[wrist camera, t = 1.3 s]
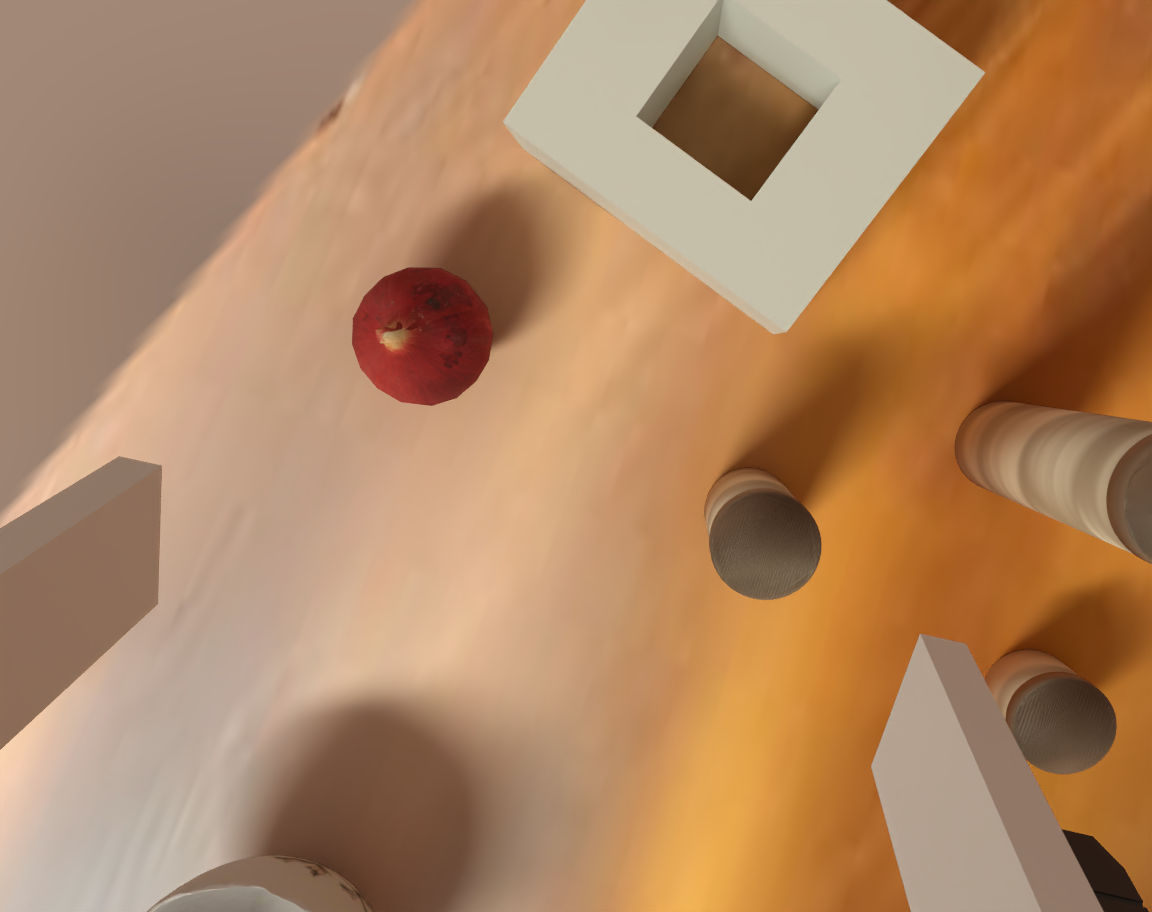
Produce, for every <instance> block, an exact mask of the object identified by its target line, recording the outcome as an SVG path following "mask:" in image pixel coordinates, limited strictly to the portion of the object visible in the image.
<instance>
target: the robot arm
mask: <svg viewBox="0 0 1152 912" xmlns="http://www.w3.org/2000/svg"><path fill="white" fill-rule="evenodd" d="M161 481H162V466H161V465H156V464H152V463H147V462H143V461H138V460H133V459H129V458H124V457H120V456H119V457H117V458H116V459H114V460H112V461H111V462H109V463H107V464H106V465H104V466H103V467H101V468H99V469H98V470H96V471H94V472H93V473H91V474H89V475H88V476H86V477H84V478H83V479H81V480H79V481H78V482H76V483H74V484H73V485H71V486H69V487H68V488H66V489H65V490H63V491H61V492H60V493H58V494H56V495H55V496H53V497H51V498H50V499H48V500H46V501H45V502H43V503H41V504H40V505H38V506H36V507H35V508H33V509H31V510H30V511H28V512H26V513H25V514H23V515H22V516H20V517H18V518H17V519H15V520H13V521H12V522H10V523H8V524H7V525H5V526H3V527H2V528H0V750H1V749H2V748H3V747H4V746H5V745H6V744H7V743H8V742H9V741H10V740H11V739H12V738H14V737H15V736H16V735H17V734H18V733H19V732H20V731H21V730H22V729H23V728H24V727H25V726H26V725H28V724H29V723H30V722H31V721H32V720H33V719H34V718H35V717H36V716H37V715H38V714H39V713H41V712H42V711H43V710H44V709H45V708H46V707H47V706H48V705H49V704H50V703H51V702H52V701H53V700H55V699H56V698H57V697H58V696H59V695H60V694H61V693H62V692H63V691H64V690H65V689H66V688H68V687H69V686H70V685H71V684H72V683H73V682H74V681H75V680H76V679H77V678H78V677H79V676H81V675H82V674H83V673H84V672H85V671H86V670H87V669H88V668H89V667H90V666H91V665H92V664H93V663H95V662H96V661H97V660H98V659H99V658H100V657H101V656H102V655H103V654H104V653H105V652H106V651H108V650H109V649H110V648H111V647H112V646H113V645H114V644H115V643H116V642H117V641H118V640H119V639H120V638H122V637H123V636H124V635H125V634H126V633H127V632H128V631H129V630H130V629H131V628H132V627H133V626H135V625H136V624H137V623H138V622H139V621H140V620H141V619H142V618H143V617H144V616H145V615H146V614H148V613H149V612H150V611H151V610H152V609H153V608H154V607H155V606H156V605H157V604H158V582H159V548H160V514H161ZM871 768H872V771H873V775H874V779H875V782H876V786H877V790H878V793H879V797H880V801H881V804H882V808H883V812H884V815H885V819H886V823H887V826H888V830H889V834H890V837H891V841H892V845H893V848H894V852H895V856H896V859H897V863H898V866H899V870H900V874H901V877H902V881H903V885H904V888H905V892H906V896H907V899H908V903H909V907H910V910H911V912H1149V911H1148V909H1147V908H1144V907H1143V905H1142V903H1143V901H1142V899H1141V897H1140V895H1139V894H1138V892H1137V890H1136V888H1135V887H1134V885H1133V883H1132V881H1131V880H1130V878H1129V876H1128V874H1127V873H1126V871H1125V869H1124V868H1123V867H1122V866H1121V865H1120V864H1119V863H1118V862H1117V861H1116V860H1115V859H1114V858H1113V857H1112V856H1111V855H1110V854H1109V853H1108V852H1107V851H1106V850H1105V849H1104V848H1103V847H1102V846H1101V844H1100V843H1099V842H1098V841H1097V840H1096V839H1095V838H1094V837H1093V836H1088V835H1084V834H1080V833H1075V832H1071V831H1067V830H1062V829H1061V828H1060V826H1059V824H1058V822H1057V820H1056V818H1055V816H1054V814H1053V812H1052V810H1051V808H1050V806H1049V804H1048V802H1047V800H1046V798H1045V797H1044V795H1043V793H1042V791H1041V789H1040V787H1039V785H1038V783H1037V781H1036V779H1035V777H1034V775H1033V773H1032V771H1031V769H1030V767H1029V765H1028V763H1027V762H1026V760H1025V758H1024V756H1023V754H1022V752H1021V750H1020V748H1019V746H1018V744H1017V742H1016V740H1015V738H1014V736H1013V734H1012V732H1011V730H1010V728H1009V727H1008V725H1007V723H1006V721H1005V719H1004V717H1003V715H1002V713H1001V711H1000V709H999V707H998V705H997V703H996V701H995V699H994V697H993V695H992V693H991V692H990V690H989V688H988V686H987V684H986V682H985V680H984V678H983V676H982V674H981V672H980V670H979V668H978V666H977V664H976V662H975V660H974V658H973V656H972V655H971V653H970V651H969V649H968V647H967V645H966V644H964V643H960V642H955V641H951V640H946V639H942V638H937V637H933V636H928V635H924V634H920V635H919V638H918V641H917V644H916V646H915V649H914V652H913V654H912V657H911V660H910V663H909V665H908V668H907V671H906V673H905V676H904V679H903V681H902V684H901V687H900V690H899V692H898V695H897V698H896V700H895V703H894V706H893V709H892V711H891V714H890V717H889V719H888V722H887V725H886V728H885V730H884V733H883V736H882V738H881V741H880V744H879V747H878V749H877V752H876V755H875V757H874V760H873V763H872V766H871Z"/></svg>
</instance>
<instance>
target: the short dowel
mask: <svg viewBox="0 0 1152 912" xmlns="http://www.w3.org/2000/svg"><path fill="white" fill-rule="evenodd" d="M984 680H985V682H986V684H987V686H988V688H989V690H990V692H991V693H992V695H993V697H994V699H995V701H996V703H997V705H998V707H999V709H1000V711H1001V713H1002V715H1003V717H1004V719H1005V721H1006V723H1007V725H1008V727H1009V728H1010V730H1011V732H1012V734H1013V736H1014V738H1015V740H1016V742H1017V744H1018V746H1019V748H1020V750H1021V752H1022V754H1023V756H1024V757H1025V759H1026V760H1028V761H1029V762H1030V763H1031V764H1033V765H1034V766H1036V767H1037V768H1039V769H1041V770H1044V771H1047V772H1050V773H1055V774H1072V773H1077V772H1081V771H1084V770H1086V769H1088V768H1090V767H1092V766H1094V765H1095V764H1097V763H1098V762H1099V761H1100V760H1101V759H1102V758H1103V757H1104V756H1105V755H1106V754H1107V753H1108V751H1109V750H1110V748H1111V746H1112V744H1113V742H1114V739H1115V735H1116V728H1117V726H1116V716H1115V713H1114V709H1113V707H1112V705H1111V703H1110V702H1109V700H1108V699H1107V697H1106V696H1105V695H1104V694H1103V693H1102V692H1101V691H1100V690H1098V689H1097V688H1096V687H1095V686H1093V685H1092V684H1091V683H1090V682H1088V681H1087V680H1085V679H1084V678H1082V677H1080V676H1079V675H1078V674H1076V673H1075V672H1074V671H1073V670H1071V669H1070V668H1069V667H1068V666H1066V665H1065V664H1064V663H1063V662H1061V661H1060V660H1059V659H1058V658H1056V657H1054V656H1053V655H1051V654H1049V653H1047V652H1044V651H1040V650H1034V649H1023V650H1018V651H1014V652H1011V653H1009V654H1007V655H1005V656H1003V657H1002V658H1000V659H999V660H998V661H996V662H995V663H994V664H993V666H992V667H991V668H990V669H989V671H988V673H987V675H986V677H985V679H984Z"/></svg>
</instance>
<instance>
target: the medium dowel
mask: <svg viewBox="0 0 1152 912" xmlns="http://www.w3.org/2000/svg"><path fill="white" fill-rule="evenodd" d="M704 512H705V520H706V525H707V530H708V535H709V547H710V553H711V558H712V561H713V564H714V567H715V569H716V571H717V573H718V574H719V576H720V577H721V579H722V580H723V581H724V582H725V583H726V584H727V585H728V586H729V587H730V588H731V589H733V590H734V591H736V592H738V593H740V594H742V595H744V596H746V597H749V598H753V599H759V600H773V599H778V598H782V597H785V596H788V595H790V594H792V593H794V592H795V591H797V590H799V589H800V588H801V587H802V586H804V585H805V584H806V583H807V582H808V580H809V579H810V578H811V577H812V575H813V574H814V572H815V570H816V568H817V566H818V563H819V560H820V555H821V537H820V532H819V529H818V526H817V524H816V522H815V520H814V518H813V517H812V515H811V514H810V513H809V511H808V510H807V509H806V508H805V507H804V506H803V505H802V504H801V503H800V502H799V501H798V500H797V499H796V498H795V497H794V496H793V495H792V493H791V492H790V491H789V490H788V489H787V487H786V486H785V485H784V484H783V483H782V482H781V481H780V480H779V479H778V478H777V477H776V476H774V475H773V474H771V473H769V472H767V471H765V470H762V469H757V468H740V469H736V470H733V471H731V472H729V473H727V474H725V475H723V476H722V477H721V478H720V479H718V480H717V481H716V482H715V484H714V485H713V486H712V488H711V489H710V491H709V493H708V495H707V498H706V502H705V510H704Z"/></svg>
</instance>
